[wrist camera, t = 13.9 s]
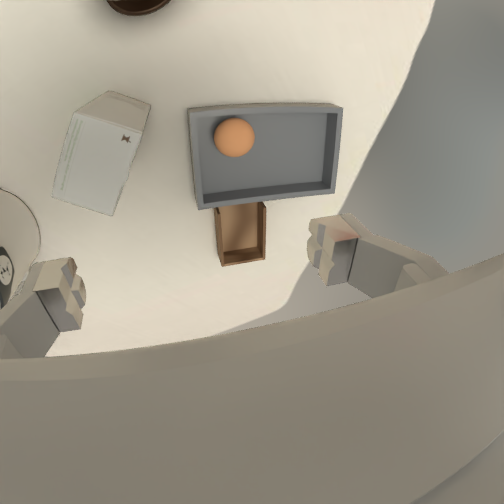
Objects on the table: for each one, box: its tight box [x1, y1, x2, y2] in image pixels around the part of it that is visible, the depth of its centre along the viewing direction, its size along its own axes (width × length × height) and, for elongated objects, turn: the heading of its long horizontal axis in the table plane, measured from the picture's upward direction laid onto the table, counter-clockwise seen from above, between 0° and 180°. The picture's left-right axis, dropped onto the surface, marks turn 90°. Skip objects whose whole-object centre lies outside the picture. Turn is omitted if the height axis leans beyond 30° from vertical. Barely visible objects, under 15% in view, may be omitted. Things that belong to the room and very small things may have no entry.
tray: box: [188, 103, 343, 210], centre depth 39 cm, size 20×13×4 cm, turn 92°
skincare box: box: [52, 91, 151, 216], centre depth 27 cm, size 8×7×16 cm
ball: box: [214, 118, 255, 157], centre depth 35 cm, size 5×5×5 cm
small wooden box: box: [214, 201, 266, 267], centre depth 45 cm, size 7×9×4 cm
